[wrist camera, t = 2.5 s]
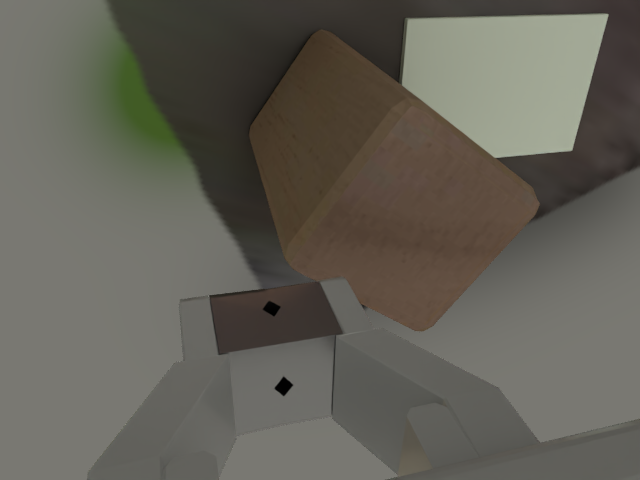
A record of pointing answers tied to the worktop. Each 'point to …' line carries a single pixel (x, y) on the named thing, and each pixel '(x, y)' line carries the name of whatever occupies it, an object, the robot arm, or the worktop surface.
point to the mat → (505, 76)
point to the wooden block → (380, 186)
